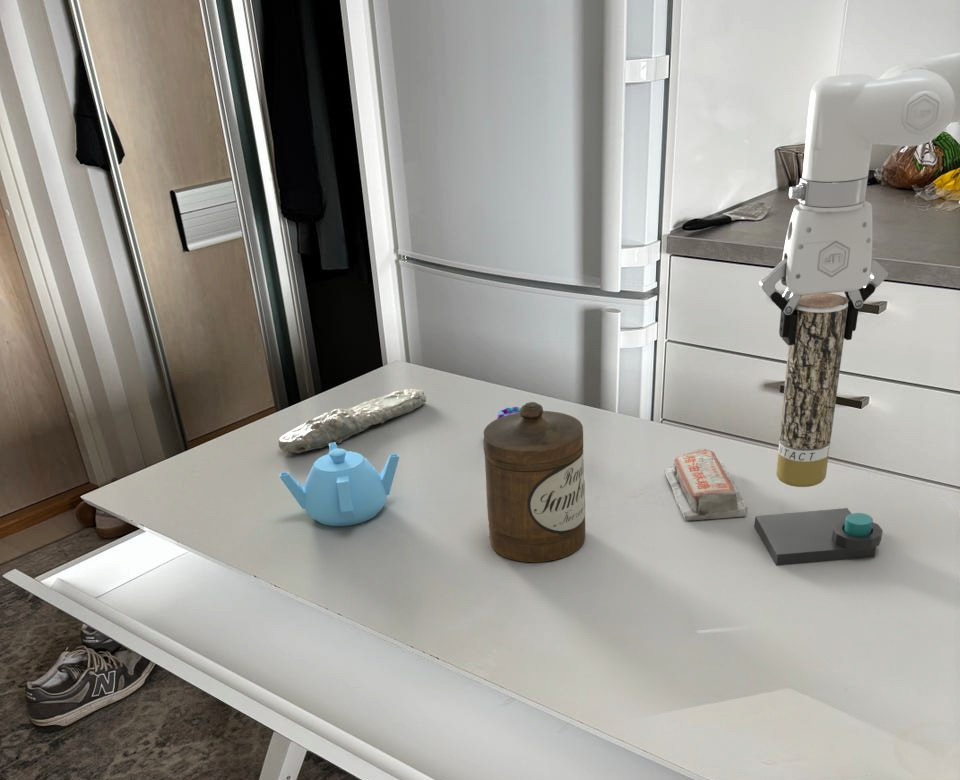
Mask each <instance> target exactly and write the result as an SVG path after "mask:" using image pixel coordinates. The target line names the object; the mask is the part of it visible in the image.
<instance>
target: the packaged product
mask: <svg viewBox="0 0 960 780" xmlns="http://www.w3.org/2000/svg"><path fill="white" fill-rule="evenodd" d="M672 464H673V466H671V467H670V468H667V467H664V474H665V476H666V479H667V481H668V483H669V485H670V487H671V490H672V493H673V496H674V500H675V503H676V504H677V505H678V506H679V510H680V512H681V514H682V516H683V518H684V520H685V521H701V520H703V521H704V520H716V519H717V520H718V519H729V518H741V517H747V515H748V514H747V513H748V506H747V504H746V502H745V500H744V499H743V497H742V495H741V493H740V491H739V489H738V488H737V486H736V484H735V482H734V480H733V478H732V476H731V474H730V472H729V471H728V468H727V467H726V465H725V463H724V461H723V460H719V459H718V458H717V456H716V454H715V451H714V450H709V449H707V448H700V449H696V450H694V451H690V452H687V453H684V454H681V455H679V456H676V457H675V459H674V461H673V463H672Z"/></svg>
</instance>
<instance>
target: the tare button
mask: <svg viewBox="0 0 960 780" xmlns="http://www.w3.org/2000/svg"><path fill="white" fill-rule="evenodd" d="M873 519H874V518H873V517H872V516H871V515H868V514H867V513H862V512H851V514H849V515H848V516H847V517H846V521H845V528H844V531H845V533H847V534H849V535H853V536H868V535H870V533H871V529H872V523H873V522H874V520H873Z"/></svg>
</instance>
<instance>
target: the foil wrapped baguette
mask: <svg viewBox="0 0 960 780" xmlns="http://www.w3.org/2000/svg"><path fill="white" fill-rule="evenodd" d="M426 402H427V395H425V393H424V391H423V388H410V389H403V390H402V389H401V390H395V391H393V392H389V393H387V394H385V395H383V396H379V397H376V398H373V399H370V400H367V401H364V402H362V403H360V404H357V405H355V406H353V407H349V408H348V407H347V408H335V409H332V410H331V411H326V412H324V413H322V414H320V415H319V416H316V417H314V418H312V419H308V420H306V421H305V423H303V424H300V425H298V426H297V427H295V428H293V429H292V430H290V431H288V432H286V433H285V434H283V435H281V436H280V437H279V439H278V448H279V449H280V450H281V451H282V452H286V453H294V454H300V453H303V452H307V451H312V450H318V449H323V448H324V447H329V443H334V442H336V443H337V444H342V442H343V441H345V440H348V439H349V438H350V437H352V436H354V435H358V434H359V433H361V432H364V431H365V430H367V429H368V428H370V427H371V426H373V425H378V424H383V423H385V422H386V421H388V420H390V419H393V418H396V417H400V416H403V415H406V414H409V413H411V412H413V411H414V410H415V409H417V408H421V406H422V405H424V404H425V403H426Z"/></svg>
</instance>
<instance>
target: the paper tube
mask: <svg viewBox="0 0 960 780" xmlns="http://www.w3.org/2000/svg"><path fill="white" fill-rule="evenodd" d="M847 311H848V299H847V298H846V297H845V295H844V296H843V295H840V294H836V293H824V294H813V295H802V297H801V298H800V300H799V302H798V304H797V305H796V307H795V309H794V313H795V314H796V315H797V322H796V331H795V341H794V344H793V345H788V347H787V348H788V349H787V359H786V369H785V379H784V388H783V389H784V390H783V400H782V411H781V420H780V430H779V439H778V440H779V441H778V452H777V453H778V454H777V462H776V471H775V472H776V474H775V475H776V477H777V479H778V480H779V481H780V482H781V483H783V484H786V485H787V486H790V487H796V488H808V487H809V488H810V487H815V486H817V485H819V484H821V483H822V482H823V481H824V480H825V479H826V477H827V470H828V463H829V456H830V449H831V440H832V433H833V425H834V418H835V410H836V402H837V395H838V387H839V381H840V371H841V364H842V356H843V349H844V348H843V347H844V340H845V339H844V334H845V326H846V318H847Z"/></svg>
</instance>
